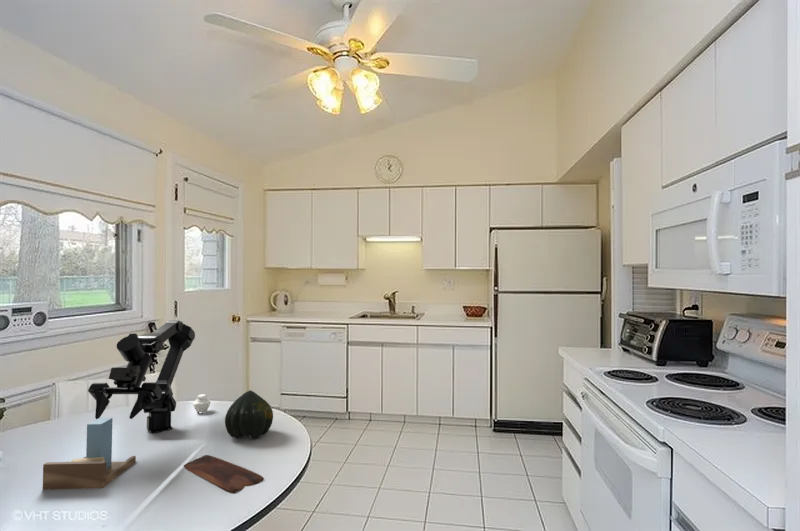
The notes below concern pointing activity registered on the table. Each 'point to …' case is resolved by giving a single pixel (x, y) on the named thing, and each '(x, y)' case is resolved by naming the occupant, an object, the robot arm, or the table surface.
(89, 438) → the light blue block
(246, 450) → the table surface
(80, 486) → the tray
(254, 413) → the squash
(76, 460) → the offcut upper
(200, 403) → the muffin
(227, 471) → the wooden tablet
